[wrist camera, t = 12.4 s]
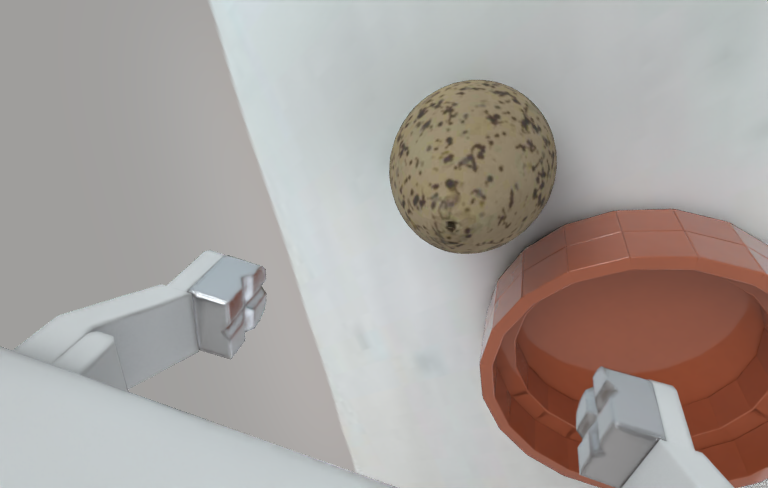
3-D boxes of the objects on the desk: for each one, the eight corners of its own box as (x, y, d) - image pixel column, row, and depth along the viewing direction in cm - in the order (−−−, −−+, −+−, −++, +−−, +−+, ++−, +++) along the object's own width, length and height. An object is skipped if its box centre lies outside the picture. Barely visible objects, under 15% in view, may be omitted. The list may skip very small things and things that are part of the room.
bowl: (533, 172, 25) (533, 215, 21) (879, 254, 23) (956, 321, 18) (462, 380, 34) (452, 439, 30) (704, 455, 32) (729, 530, 27)
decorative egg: (443, 212, 28) (403, 322, 19) (391, 97, 25) (320, 166, 17) (570, 174, 25) (587, 285, 16) (528, 37, 22) (522, 87, 14)
